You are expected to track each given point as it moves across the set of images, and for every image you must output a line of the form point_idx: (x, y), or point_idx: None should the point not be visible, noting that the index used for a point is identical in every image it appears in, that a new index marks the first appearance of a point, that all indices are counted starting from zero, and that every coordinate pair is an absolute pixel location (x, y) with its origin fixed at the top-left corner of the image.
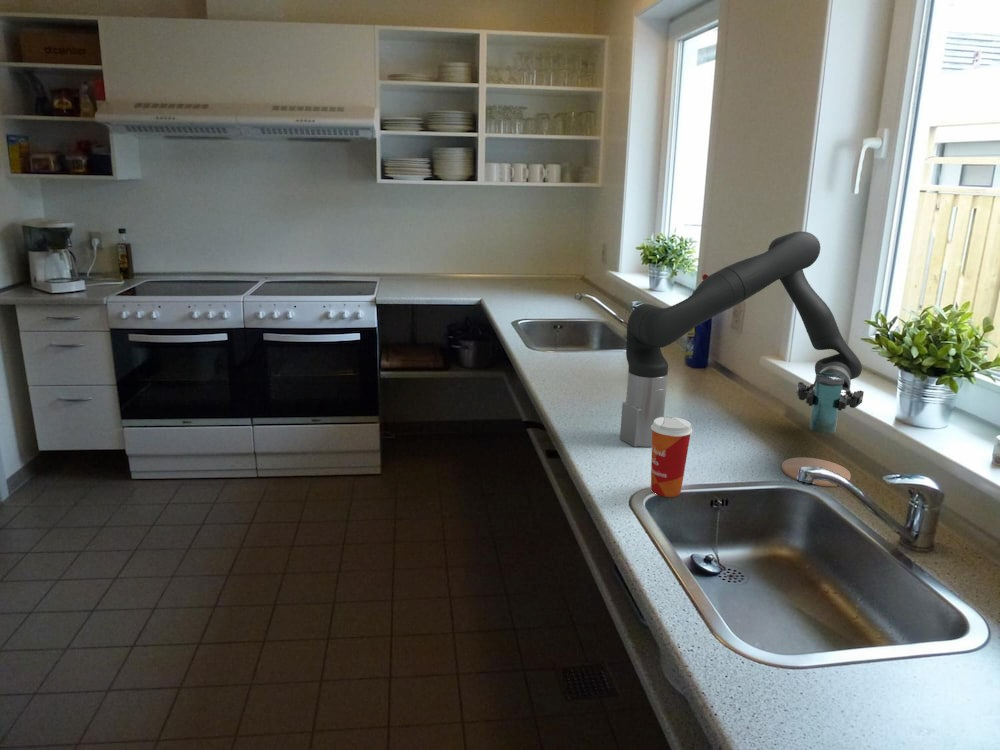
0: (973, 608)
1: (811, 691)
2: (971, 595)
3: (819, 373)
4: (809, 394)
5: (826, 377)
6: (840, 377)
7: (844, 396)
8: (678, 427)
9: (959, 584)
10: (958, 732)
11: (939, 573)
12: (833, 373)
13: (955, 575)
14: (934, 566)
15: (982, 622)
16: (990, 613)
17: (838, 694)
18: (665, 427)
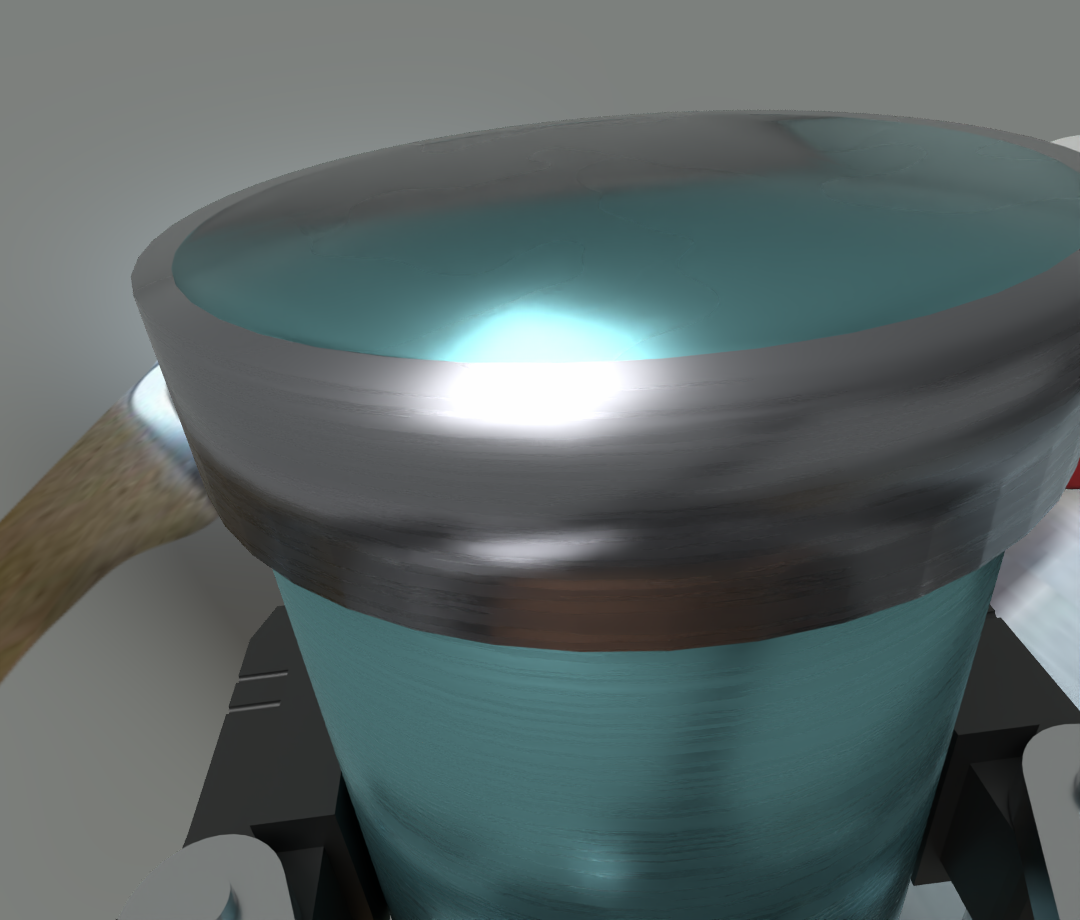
0: (133, 414)
1: None
2: (110, 445)
3: (1069, 191)
4: (1013, 682)
5: (650, 137)
6: (282, 225)
7: (232, 844)
8: (1060, 143)
9: (116, 466)
10: None
11: (149, 481)
12: (597, 371)
13: (104, 492)
14: (147, 502)
15: (139, 391)
16: (102, 416)
17: None
18: None
